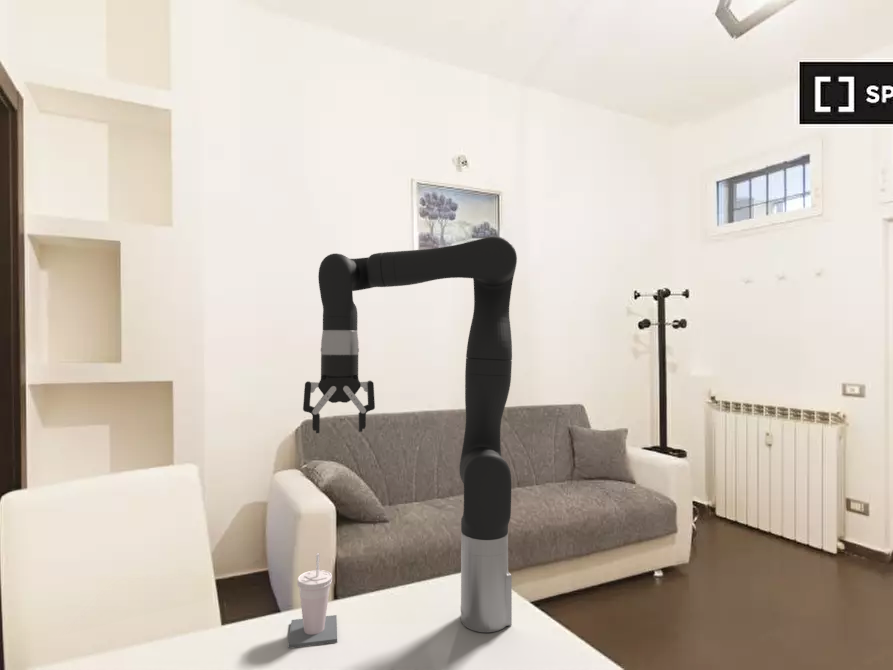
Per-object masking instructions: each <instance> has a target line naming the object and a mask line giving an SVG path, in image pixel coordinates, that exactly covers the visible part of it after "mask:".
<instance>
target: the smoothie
mask: <svg viewBox="0 0 893 670" xmlns="http://www.w3.org/2000/svg"><path fill="white" fill-rule="evenodd" d="M315 555H316V556H315V557H316V558H315V563H316V564H315V569H314V570H313V569H312V570H309V571H305V572H303V573H301V574H300V575H299V576H297V583H296V586H297V587H298V588H299V598H300V605H301V607H300V608H301V614H302V619H303V626H304V632H305V633H306V634H310V635H313V634H318V633H320V632H322V631H323V630H324V627H325V619H326V616H327V610H328V604H329V597H330V596H329V595H330V587H331V583H332V582H333V575H332V573H331V572H330V571H328V570H323V569H320V553H319V552H318V553H316V554H315Z"/></svg>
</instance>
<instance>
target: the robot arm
mask: <svg viewBox="0 0 893 670" xmlns="http://www.w3.org/2000/svg"><path fill="white" fill-rule="evenodd" d="M517 262H518V255H517V252H516V249H515V247H514V245H513V244H512V243H511V242H510V241H509V240H507V239H506V238H504V237H501V236H496V235H492V236H487V237H483V238H478V239H475V240H471V241H467V242H463V243H459V244H453V245H449V246H447V245H446V246H443V247H442V246H441V247H436V248H425V249H424V248H423V249H415V250H414V249H413V250H397V251H386V252H385V251H384V252H378V253H377V252H376V253H373V254H372V253H371V254H370V255H369V256H368V257H359V258H349V257H347V256H346V255H344V254H341V253H331V254H328V255H326V256H325V257H324V258H323V260H322V261H321V263H320V265H319V268H318V276H317V277H318V287H319V288H318V289H319V292H320V293H319V294H320V298H321V299H320V300H321V303H322V311H323V312H322V333H321V342H320V346H321V347H320V354H321V355H320V379H319V381H318V382H314V381H312V382H311V381H309V380H308V381H305V383H304V388H303V389H304V391H303V404H302V405H303V407H302V410H303V411H304V412H305V413H309V414H311V415H312V428H311V429H312V430H313V431H315V434H320V430H321V429H320V427H321V425H320V423H321V414H320V411H321V410H322V409H323V408H324V407H325V405H326V404H327V402H330V403H332V404H333V403H335V404H336V403H344V404H345V403H349V402H350V401H351V402H352V403H353V404H354V406H355V407H356V409H358V411H359V412H358V419H357V420H358V428H357V429H358V432H359V433H362V432H363V430H365V429H366V426H367V421H366V420H367V413H368V412H370V411H373V410H375V408H376V406H375V405H376V403H375V402H376V401H375V387H374V384H375V383H374V382H373V380H367V381H360V379H359V352H360V348H359V337H358V335H359V334H358V309H357V305H356V304H355V303H354V297H353V296H354V295H353V292H356V291H362V290H367V289H368V290H369V289H373V288H388V287H389V288H390V287H403V286H404V287H405V286H412V285H417V284H422V283H428V282H431V281H436V280H443V279H454V278H455V279H457V278H463V279H473V315H472V319H471V324H470V329H469V332H468V333H469V334H468V338H467V339H468V340H467V345H466V346H467V347H466V354H465V373H464V376H465V377H464V378H465V379H464V381H465V382H464V384H465V385H464V387H465V388H464V393H465V394H464V400H465V401H464V402H465V405H464V406H465V426H464V435H463V436H464V437H463V442H462V449H461V455H460V460H459V476H460V479H461V481H462V483H463V514H462V517H461V522H460V528H461V529H460V540H461V541H460V546H461V548H460V549H461V550H460V560H461V561H460V621H461V623H462V624H463V626H464V627H465V628H468V629H469V630H471V631H474V632H478V633H493V632H498V631H501V630H503V629H505V628H506V627H507V626H512V623H513V622H512V621H513V619H512V616H513V615H512V613H513V612H512V609H513V608H512V607H513V606H512V605H513V603H512V602H513V601H512V600H513V598H512V596H513V595H512V593H513V592H512V589H513V587H512V586H513V585H512V584H513V580H512V579H513V577H512V574H511V572H509V571H510V570H509V524H510V520H511V515H512V514H511V513H512V510H511V509H512V474H511V473H512V472H511V469H510V466H509V465H508V463H507V461H506V460H505V459H504V458H503V457H502V450H501V447H502V445H501V425H502V418H503V414H504V410H505V408H506V404H507V401H508V397H509V394H510V387H511V383H512V363H513V361H512V360H513V344H512V331H511V320H510V304H511V296H512V287H513V282H514V276H515V272H516V269H517ZM317 388H318V389H319V391H320V392H321V393H322V397H321V398H320V399H319V400H318V402H317V403H316V404H315V405H314V406H313V405H311V396H312V395H311V394H312V393H315V391H316V389H317ZM361 388H362V389H363V391H364V393H365V392H366V393H367V394H366V395H367V404H366V405H363V403H362V401H360V400H359V398H358V396H357V395H356V394H357V392H358V391H359V389H361Z"/></svg>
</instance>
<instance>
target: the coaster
mask: <svg viewBox="0 0 893 670" xmlns="http://www.w3.org/2000/svg"><path fill="white" fill-rule="evenodd" d="M337 622H338V619H337V614H333V615H326V619H325V627H324V630H323V631H322V632H320V633H318V634H313V635H310V634H306V633H305V632H304V626H303V618H297V619H291V621H290V630H289V637H288V644H287V645H288V646H287V647H288V649H291V648H290V647H294V648H301V647H300V646H302V647H309V645H310V646H317V645H326V644H332V643H334V644H335V643H338V626H337V625H338V623H337Z"/></svg>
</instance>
